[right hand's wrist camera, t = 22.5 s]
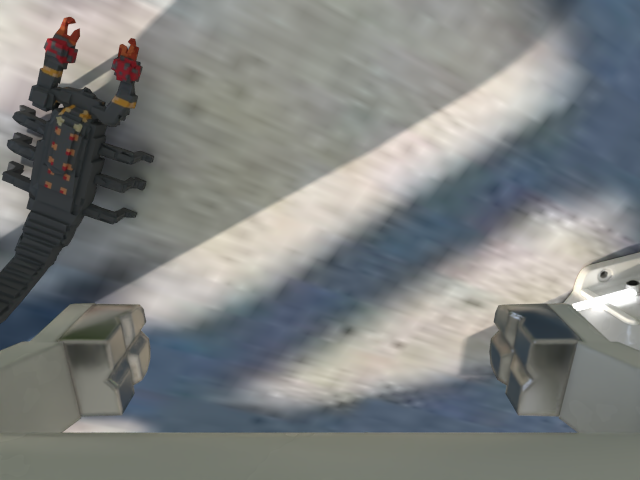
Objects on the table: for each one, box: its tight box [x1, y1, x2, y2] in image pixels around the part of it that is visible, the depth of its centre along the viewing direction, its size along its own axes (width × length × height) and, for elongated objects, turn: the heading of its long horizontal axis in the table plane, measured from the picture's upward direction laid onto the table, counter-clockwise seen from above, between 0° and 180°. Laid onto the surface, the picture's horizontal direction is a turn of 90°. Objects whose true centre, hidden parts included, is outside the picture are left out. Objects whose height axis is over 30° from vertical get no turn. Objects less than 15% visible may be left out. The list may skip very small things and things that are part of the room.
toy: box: [0, 17, 154, 324], centre depth 37 cm, size 13×27×18 cm, turn 156°
